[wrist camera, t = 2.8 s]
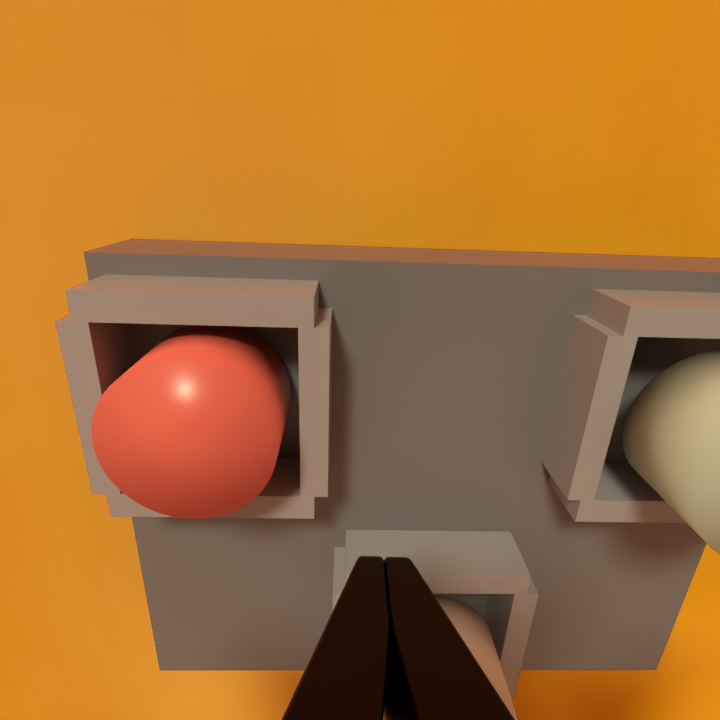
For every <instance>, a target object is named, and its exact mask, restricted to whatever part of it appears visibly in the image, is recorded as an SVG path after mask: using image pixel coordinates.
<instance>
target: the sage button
mask: <svg viewBox="0 0 720 720" xmlns="http://www.w3.org/2000/svg"><path fill="white" fill-rule="evenodd" d="M622 444H623V450H624V453H625V456H626V458H627V460H628V462H629V464H630V465H631V466H632V468H633V469H634V470H635V471H636V472H637V473H638V474H639V475H640V476H641V477H642V478H643V479H644V480H645V481H646V482H647V483H648V484H649V485H650V486H651V487H652V488H653V489H654V490H655V491H656V492H657V493H658V494H659V495H660V496H661V497H662V498H663V499H664V500H665V501H666V502H667V503H668V504H669V505H670V506H671V507H672V508H673V509H674V510H675V511H676V512H677V513H678V514H679V515H680V516H681V517H682V518H683V519H684V521H685V522H686V523H687V524H688V525H689V526H690V527H691V528H692V529H693V530H694V531H695V532H696V533H697V534H698V535H699V536H700V537H701V538H702V539H703V540H704V541H705V542H706V543H707V544H708V545H709V546H710V547H711V548H712V549H714V550H715V551H717V552H718V553H719V554H720V351H713V352H707V353H701V354H698V355H694V356H691V357H688V358H686V359H683V360H681V361H679V362H677V363H675V364H673V365H671V366H670V367H668V368H666V369H665V370H663V371H662V372H660V373H659V374H658V375H657V376H655V377H654V378H653V379H652V380H651V381H650V382H649V383H648V384H647V385H646V386H645V387H644V388H643V389H642V390H641V391H640V393H639V394H638V395H637V397H636V398H635V400H634V401H633V403H632V404H631V406H630V408H629V410H628V412H627V415H626V418H625V421H624V425H623V430H622Z"/></svg>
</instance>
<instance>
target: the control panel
mask: <svg viewBox="0 0 720 720" xmlns="http://www.w3.org/2000/svg"><path fill="white" fill-rule="evenodd" d="M84 256H85V261H86V267H87V272H88V278H89V281H87V282H85V283H82V284H80V285H77V286H75V287H72V288H69V289H67V290H65V291H66V296H67V301H68V306H69V311H70V315H67V316H65V317H63V318H61V319H59V320H57V321H55V323H56V328H57V332H58V337H59V341H60V346H61V351H62V355H63V360H64V365H65V369H66V374H67V378H68V383H69V388H70V392H71V397H72V402H73V406H74V411H75V416H76V420H77V425H78V429H79V434H80V439H81V443H82V448H83V453H84V457H85V462H86V466H87V471H88V476H89V480H90V485H91V490H92V494H107V499H108V504H109V509H110V514H111V516H114V517H132V520H133V525H134V531H135V536H136V542H137V547H138V553H139V558H140V564H141V569H142V575H143V580H144V586H145V591H146V597H147V602H148V608H149V613H150V619H151V624H152V630H153V635H154V641H155V646H156V652H157V657H158V663H159V668H160V670H305V669H306V667H307V665H308V663H309V661H310V658H311V656H312V654H313V652H314V650H315V648H316V646H317V644H318V641H319V639H320V637H321V635H322V633H323V631H324V629H325V626H326V624H327V622H328V620H329V618H330V616H331V614H332V612H333V609H334V607H335V605H336V603H337V601H338V599H339V597H340V594H341V592H342V590H343V588H344V586H345V584H346V582H347V580H348V577H349V575H350V573H351V571H352V569H353V567H354V565H355V562H356V560H357V559H358V558H359V557H360V556H380V557H382V558H383V560H385V558H386V557H408V558H409V559H411V560H412V562H413V563H414V565H415V566H416V568H417V569H418V571H419V573H420V574H421V576H422V577H423V579H424V580H425V582H426V583H427V585H428V586H429V588H430V590H431V591H432V593H433V594H434V596H435V597H436V598H447V599H452V600H456V601H459V602H462V603H464V604H467V605H468V606H470V607H472V608H473V609H475V610H476V611H478V612H479V613H480V614H481V615H482V616H483V618H484V619H485V621H486V622H487V624H488V626H489V629H490V633H491V636H492V639H493V642H494V645H495V648H496V652H497V655H498V658H499V661H500V664H501V667H502V671H503V674H504V677H505V680H506V683H507V686H508V690H509V693H510V696H511V698H514V695H515V691H516V686H517V682H518V678H519V674H520V670H656V669H657V666H658V664H659V661H660V659H661V656H662V654H663V651H664V649H665V646H666V644H667V641H668V638H669V636H670V633H671V631H672V628H673V626H674V623H675V621H676V618H677V616H678V613H679V611H680V608H681V606H682V603H683V601H684V598H685V596H686V593H687V591H688V588H689V586H690V583H691V581H692V578H693V576H694V573H695V571H696V568H697V566H698V563H699V561H700V558H701V556H702V553H703V551H704V548H705V546H706V542H705V541H704V540H703V539H702V538H701V537H700V536H699V535H698V534H697V533H696V532H695V531H694V530H693V529H692V528H691V527H690V526H689V525H688V524H687V523H686V522H685V521H684V519H683V518H682V517H681V516H680V515H679V514H678V513H677V512H676V511H675V510H674V509H673V508H672V507H671V506H670V505H669V504H668V503H667V502H666V501H665V500H664V499H663V498H662V497H661V496H660V495H659V494H658V493H657V492H656V491H655V490H654V489H653V488H652V487H651V486H650V485H649V484H648V483H647V482H646V481H645V480H644V479H643V478H642V477H641V476H640V475H639V474H638V473H637V472H636V471H635V470H634V469H633V468H632V466H631V465H630V464H629V462H628V460H627V458H626V456H625V453H624V450H623V444H622V430H623V425H624V421H625V418H626V415H627V412H628V410H629V408H630V406H631V404H632V403H633V401H634V400H635V398H636V397H637V395H638V394H639V393H640V391H641V390H642V389H643V388H644V387H645V386H646V385H647V384H648V383H649V382H650V381H651V380H652V379H653V378H654V377H655V376H657V375H658V374H659V373H660V372H662V371H663V370H665V369H666V368H668V367H670V366H671V365H673V364H675V363H677V362H679V361H681V360H683V359H686V358H688V357H691V356H694V355H698V354H701V353H707V352H713V351H720V258H695V257H664V256H634V255H604V254H573V253H543V252H512V251H482V250H452V249H421V248H391V247H360V246H330V245H300V244H269V243H239V242H208V241H178V240H148V239H129V240H126V241H122V242H118V243H115V244H111V245H108V246H104V247H100V248H97V249H93V250H89V251H86V252H84ZM189 325H209V326H235V327H238V328H241V329H243V330H245V331H247V332H250V333H252V334H253V335H255V336H256V337H258V338H259V339H261V340H262V341H263V342H265V343H266V344H267V345H268V346H269V347H270V348H271V349H272V350H273V351H274V352H275V353H276V355H277V356H278V358H279V359H280V360H281V362H282V364H283V366H284V367H285V370H286V372H287V375H288V378H289V382H290V387H291V403H290V408H289V413H288V417H287V421H286V425H285V429H284V433H283V436H282V440H281V444H280V448H279V452H278V456H277V460H276V464H275V468H274V471H273V473H272V476H271V478H270V480H269V482H268V483H267V485H266V486H265V488H264V489H263V490H262V492H261V493H260V494H259V495H258V496H257V497H256V498H255V499H254V500H252V501H251V502H250V503H248V504H247V505H245V506H244V507H242V508H240V509H238V510H236V511H234V512H231V513H229V514H226V515H222V516H218V517H213V518H207V519H184V518H177V517H171V516H168V515H164V514H160V513H158V512H155V511H153V510H150V509H148V508H146V507H144V506H142V505H140V504H138V503H137V502H135V501H133V500H132V499H130V498H129V497H128V496H126V495H125V494H124V493H123V492H121V491H120V490H119V489H118V488H117V487H116V486H115V485H114V484H113V483H112V481H111V480H110V479H109V478H108V476H107V475H106V474H105V472H104V471H103V469H102V467H101V466H100V464H99V461H98V459H97V457H96V455H95V451H94V448H93V443H92V436H91V427H92V419H93V414H94V411H95V408H96V406H97V403H98V401H99V400H100V398H101V396H102V395H103V393H104V392H105V391H106V390H107V388H108V387H109V386H110V385H111V384H112V383H113V382H115V381H116V380H117V379H118V378H119V377H120V376H121V375H123V374H124V373H125V372H126V371H127V370H128V369H130V368H131V367H132V366H133V365H134V364H135V363H136V362H138V361H139V360H140V359H141V358H142V357H143V356H144V355H146V354H147V353H148V352H149V351H150V350H151V349H153V348H154V347H155V346H156V345H157V344H158V343H159V342H161V341H162V340H163V339H164V338H165V337H166V336H168V335H169V334H171V333H173V332H174V331H176V330H178V329H181V328H183V327H186V326H189Z"/></svg>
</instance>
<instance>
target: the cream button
mask: <svg viewBox="0 0 720 720" xmlns="http://www.w3.org/2000/svg"><path fill="white" fill-rule="evenodd" d="M436 599H437V600H438V602H439V603H440V605H441V606H442V608H443V610H444V611H445V613H446V614H447V616H448V617H449V619H450V620H451V622H452V623H453V625H454V627H455V628H456V630H457V631H458V633H459V634H460V636H461V637H462V639H463V640H464V642H465V643H466V645H467V647H468V648H469V650H470V651H471V653H472V654H473V656H474V657H475V659H476V660H477V662H478V664H479V665H480V667H481V668H482V670H483V671H484V673H485V674H486V676H487V677H488V679H489V680H490V682H491V684H492V685H493V687H494V688H495V690H496V691H497V693H498V694H499V696H500V697H501V699H502V701H503V702H504V704H505V705H506V707H507V708H508V710H509V711H510V713H511V714H512V716H513V717H514V719H515V720H518V718H517V715H516V712H515V709H514V705H513V702H512V699H511V696H510V693H509V690H508V686H507V683H506V680H505V677H504V674H503V671H502V667H501V664H500V661H499V658H498V655H497V652H496V648H495V645H494V642H493V639H492V636H491V633H490V629H489V626H488V624H487V622H486V621H485V619H484V618H483V616H482V615H481V614H480V613H479V612H478V611H476V610H475V609H473V608H472V607H470V606H468V605H467V604H464V603H462V602H459V601H456V600H452V599H447V598H436ZM383 720H384V719H383Z"/></svg>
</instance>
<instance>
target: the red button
mask: <svg viewBox="0 0 720 720" xmlns="http://www.w3.org/2000/svg"><path fill="white" fill-rule="evenodd" d="M290 403H291V387H290V382H289V378H288V375H287V372H286V370H285V367H284V366H283V364H282V362H281V360H280V359H279V358H278V356H277V355H276V353H275V352H274V351H273V350H272V349H271V348H270V347H269V346H268V345H267V344H266V343H265V342H263V341H262V340H261V339H259V338H258V337H256V336H255V335H253V334H252V333H250V332H247V331H245V330H243V329H241V328H238V327H235V326H209V325H189V326H186V327H183V328H181V329H178V330H176V331H174V332H173V333H171V334H169V335H168V336H166V337H165V338H164V339H163V340H162V341H161V342H159V343H158V344H157V345H156V346H155V347H154V348H153V349H151V350H150V351H149V352H148V353H147V354H146V355H144V356H143V357H142V358H141V359H140V360H139V361H138V362H136V363H135V364H134V365H133V366H132V367H131V368H130V369H128V370H127V371H126V372H125V373H124V374H123V375H121V376H120V377H119V378H118V379H117V380H116V381H115V382H113V383H112V384H111V385H110V386H109V387H108V388H107V390H106V391H105V392H104V393H103V395H102V396H101V398H100V400H99V401H98V403H97V406H96V408H95V411H94V414H93V419H92V427H91V436H92V443H93V448H94V451H95V455H96V457H97V459H98V461H99V464H100V466H101V467H102V469H103V471H104V472H105V474H106V475H107V476H108V478H109V479H110V480H111V481H112V483H113V484H114V485H115V486H116V487H117V488H118V489H119V490H120V491H121V492H123V493H124V494H125V495H126V496H128V497H129V498H130V499H132V500H133V501H135V502H137V503H138V504H140V505H142V506H144V507H146V508H148V509H150V510H153V511H155V512H158V513H160V514H164V515H168V516H171V517H177V518H184V519H207V518H213V517H218V516H222V515H226V514H229V513H231V512H234V511H236V510H238V509H240V508H242V507H244V506H245V505H247V504H248V503H250V502H251V501H252V500H254V499H255V498H256V497H257V496H258V495H259V494H260V493H261V492H262V490H263V489H264V488H265V486H266V485H267V483H268V482H269V480H270V478H271V476H272V473H273V471H274V468H275V464H276V460H277V456H278V452H279V448H280V444H281V440H282V436H283V433H284V429H285V425H286V421H287V417H288V413H289V408H290Z"/></svg>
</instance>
